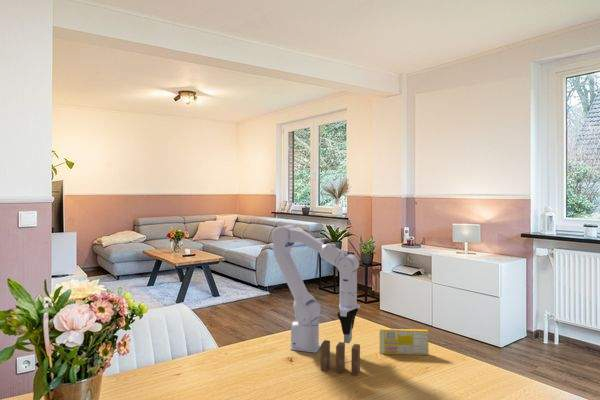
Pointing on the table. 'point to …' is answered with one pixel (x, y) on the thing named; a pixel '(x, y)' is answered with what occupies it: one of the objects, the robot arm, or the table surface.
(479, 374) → the table surface
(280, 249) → the robot arm
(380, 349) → the candy box
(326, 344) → the domino
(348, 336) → the domino
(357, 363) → the domino
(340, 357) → the domino
